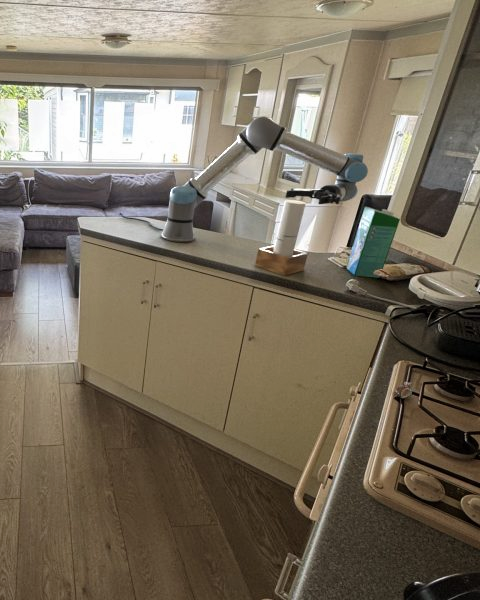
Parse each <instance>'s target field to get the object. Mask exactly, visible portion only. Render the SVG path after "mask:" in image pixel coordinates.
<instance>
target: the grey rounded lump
mask: <svg viewBox="0 0 480 600" xmlns="http://www.w3.org/2000/svg"><path fill="white" fill-rule="evenodd" d="M394 392H395V393H396V395H397V396H398V397H399V398H400V399H406V398H408V397H409V396H411V395H412V393H413V391H412V388H411V383H406V381H404V382H403V384H401V385H398V386H397V387H396V389H395V390H394Z"/></svg>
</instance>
